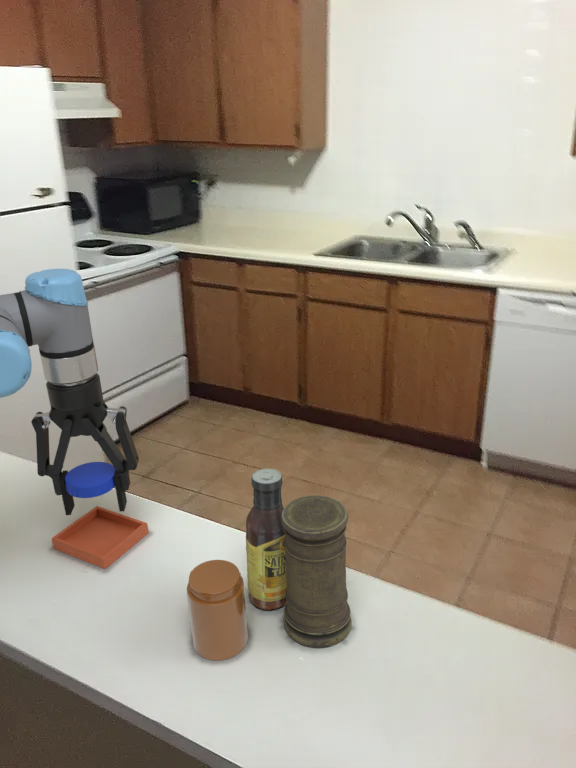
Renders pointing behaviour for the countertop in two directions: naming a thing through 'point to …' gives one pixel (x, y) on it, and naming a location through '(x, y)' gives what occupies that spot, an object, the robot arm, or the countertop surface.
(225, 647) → the jar
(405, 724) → the countertop surface
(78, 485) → the lid
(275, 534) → the sauce bottle
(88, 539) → the tray
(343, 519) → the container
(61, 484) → the robot arm
